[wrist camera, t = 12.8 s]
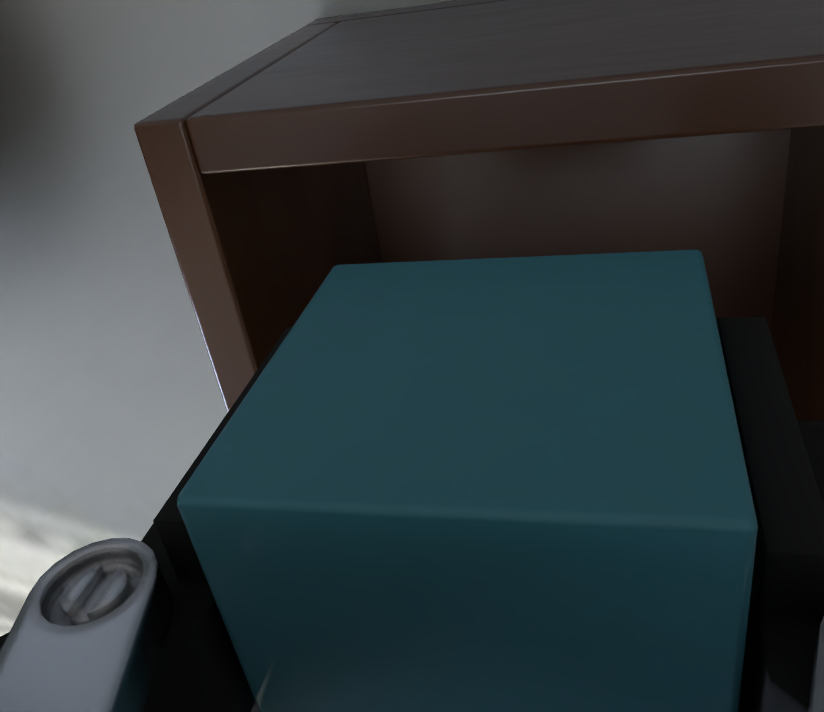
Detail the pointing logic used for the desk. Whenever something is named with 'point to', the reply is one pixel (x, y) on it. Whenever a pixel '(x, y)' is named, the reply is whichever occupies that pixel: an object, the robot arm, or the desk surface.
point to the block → (487, 494)
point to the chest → (506, 158)
